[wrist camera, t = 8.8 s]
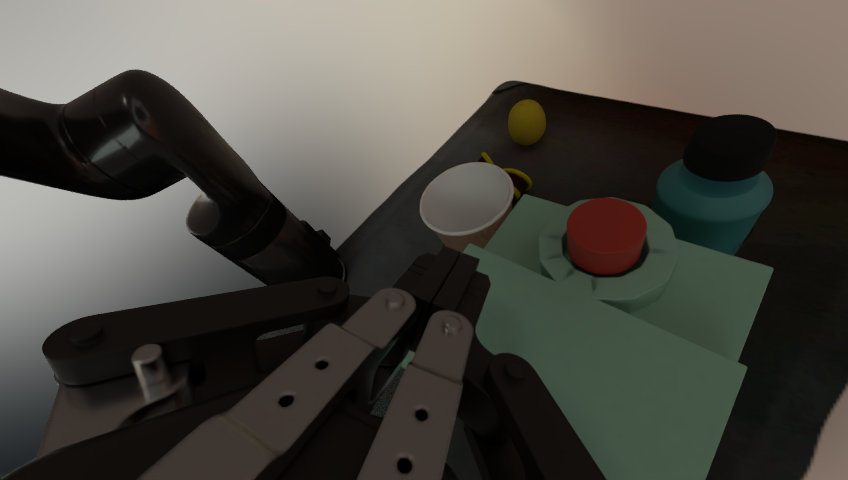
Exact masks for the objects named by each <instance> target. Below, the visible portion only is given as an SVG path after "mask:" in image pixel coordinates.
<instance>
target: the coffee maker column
mask: <svg viewBox="0 0 848 480" xmlns="http://www.w3.org/2000/svg"><path fill="white" fill-rule="evenodd" d="M608 198H614V197H608ZM615 199H618V198H615ZM589 200H593V199H588V200H580V201H578V202H576V203H574V204H572V205H570V206H568V207H567V206H564V205H560V204H557V203H554V202H550V201H547V200H543V199H540V198H537V197H533V196H530V195H527V194H524V195H523V196H522V197H521V199H520V200H519V202H518V203H517V204H516V206H515V207H514V208H513V210H512V211H511V212H510V214H509V215H508V216H507V218H506V219H505V220H504V222H503V223H502V225H501V226H500V227H499V229H498V230H497V231H496V233H495V234H494V235H493V237H492V238H491V239H490V241H489V242H488V243H487V245H486V246H485V248H484V250H487V251H489V252H491V253H493V254H496V255H498V256H500V257H502V258H505V259H507V260H509V261H511V262H514V263H516V264H518V265H520V266H523V267H525V268H527V269H529V270H532V271H534V272H536V273H538V274H541V275H543V276H545V277H547V278H550V279H552V280H554V281H556V282H558V283H560V284H562V285H564V286H566V287H568V288H571V289H573V290H575V291H577V292H580V293H582V294H584V295H586V296H589V297H592V298H594V299H597V300H599V301H601V302H603V303H606V304H608V305H610V306H612V307H615V308H617V309H619V310H621V311H624V312H626V313H628V314H630V315H633V316H635V317H637V318H639V319H642V320H644V321H646V322H648V323H651V324H653V325H655V326H657V327H659V328H662V329H664V330H666V331H668V332H671V333H673V334H675V335H677V336H680V337H682V338H684V339H686V340H689V341H691V342H693V343H695V344H698V345H700V346H702V347H704V348H707V349H709V350H711V351H713V352H716V353H718V354H720V355H722V356H725V357H727V358H729V359H731V360H734V361H736V362H738V359H739V357H740V354H741V352H742V349H743V347H744V344H745V341H746V339H747V336H748V334H749V331H750V329H751V326H752V323H753V321H754V318H755V316H756V313H757V311H758V308H759V305H760V303H761V300H762V298H763V295H764V293H765V290H766V287H767V285H768V282H769V280H770V277H771V275H772V272H773V268H772V267H769V266H766V265H762V264H759V263H756V262H752V261H749V260H745V259H742V258H739V257H735V256H732V255H729V254H725V253H722V252H719V251H715V250H712V249H708V248H705V247H702V246H698V245H695V244H692V243H688V242H685V241H681V240H678V239H675V236H674V233H673V229H672V227H671V225H670V224H668V223H667V222H666V221H665V220H663V219H662V218H661V217H660V216H658V215H657V214H656V213H654V212H653V211H652V210H651V209H649V208H648V207H647V206H645V205H642V204H638V203H634V202H630V201H626V200H623V201H626V202H628V203H630V204H632V205H634V206H635V207H637V208H638V209H639V210H640V211H641V212H642V214H643V215H644V217H645V219H646V222H647V232H646V236H645V239H644V243H643V247H642V250H641V254H640V257H639V259H638V261H637V262H636V263H635V264H634V265H633V266H632V267H631V268H629V269H627V270H626V271H623V272H621V273H617V274H612V275H600V274H594V273H591V272H588V271H586V270H584V269H582V268H580V267H579V266H578V265H576V264H575V263H574V262H573V260H572V259H571V257H570V256H569V253H568V249H567V220H568V217H569V216H570V214H571V213H572V211H573V210H574V209H575V208H576V207H578V206H579V205H581V204H582V203H584V202H587V201H589ZM620 200H622V199H620Z"/></svg>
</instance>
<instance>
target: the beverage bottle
mask: <svg viewBox="0 0 848 480" xmlns="http://www.w3.org/2000/svg"><path fill="white" fill-rule="evenodd" d="M776 142H777V131H776V129H775V128H774V127H773V125H772V124H770V123H769V122H767V121H765V120H763V119H761V118H758V117H754V116H749V115H738V114H737V115H735V114H734V115H723V116H718V117H714V118H711V119H709V120H707V121H705V122H703V123H701V124H700V125H699V126H698V127H697V128H696V129H695V130H694V132H693V134H692V136H691V139H690V141H689V143H688V144H687V146H686V148H685V151H684V154H683V159H681V160H679V161H677V162H675V163H673V164H671V165H670V166H668V167H667V168H666V169H665V170H664V171H663V172H662V173H661V175H660V176H659V178H658V181H657V186H656V193H655V197H654V201H653V205H652V209H651V210H652V211H653V212H654V213H656V214H657V215H658V216H660V217H661V218H662V219H663V220H665V221H666V222H667V223H668V224H670V225H671V227H672V229H673V233H674V236H675V239H678V240H681V241H685V242H688V243H692V244H695V245H698V246H702V247H705V248H708V249H712V250H715V251H719V252H722V253H725V254H729V255H732V256H734V255H735V254H736V253H737V250H739V249H741V248H739V247H743V246H744V245H743V246H742V245H741V244H742V242H743V241H744V239H745V238H746V236H748V233H749V232H750V231H751V230H752V231H753V226H754V224H755V222H756V220H757V219H758V217H759V215H761V212H762V211H763V210H764V209H765V208H766V207H767V205H768V204H769V202H770V201H771V199H772V195H773V185H772V182H771V180H770V178H769V177H768V176H767V174H766V173H765V172H764V171H763V170H764V169H765V167H766V166H767V164H768V162H769V160H770V158H771V155H772V151H773V149H774V147H775V144H776ZM756 227H757V226H756ZM751 233H752V232H750V234H751ZM749 237H750V235H749ZM747 238H748V237H747ZM747 238H746V239H747ZM746 239H745V241H746ZM748 239H749V238H748ZM748 239H747V240H748ZM746 242H747V241H746ZM743 244H745V242H744V243H743ZM740 251H741V250H740ZM738 252H739V251H738ZM736 255H737V254H736Z"/></svg>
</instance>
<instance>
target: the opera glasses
mask: <svg viewBox="0 0 848 480" xmlns="http://www.w3.org/2000/svg"><path fill="white" fill-rule="evenodd" d="M481 155H482V157H481V158H480V159H479V161H478V162H484V163H490V164H493V162H492V161H491V159H490V158H489V156H488V155H487V154H486V153H485V152H482V154H481ZM493 165H494V164H493ZM503 170H504V171H505V172H506V173H507V174H508V175H509V176H510V178H511V180H512V182H513V186H514V194H513V199H512V203H514V201H516V200H517V199H518V198H519V197H520V194H521V193H523V192H524V191H527V190H529V189H530V188H531V186H532V181H531V179H530V178H529V177H528V176H527V175H526V174H524V173H523V172H521V171H519V170H516V169H512V168H504V169H503ZM509 188H510V187H509Z"/></svg>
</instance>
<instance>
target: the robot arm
mask: <svg viewBox="0 0 848 480" xmlns="http://www.w3.org/2000/svg"><path fill="white" fill-rule="evenodd" d="M0 176H3V177H8V178H12V179H17V180H22V181H26V182H31V183H35V184H40V185H44V186H49V187H53V188H58V189H62V190H67V191H71V192H76V193H80V194H85V195H90V196H95V197H100V198H107V199H115V200H136V199H141V198H145V197H148V196H151V195H153V194H155V193H157V192H160V191H162V190H163V189H165V188H167V187H169V186H171V185H173V184H175V183H176V182H178V181H180V180H182V179H184V178H186V177H188V178H189V179H190V180H192V181H193V182H194V183H195V184H196V185H197V186H198V187H199V188H200V189H201V190H202V191H201V193H200V194H199V195H198V197H197V198H196V199H195V201H194V202H193V204H192V206H191V207H190V209H189V212H188V215H187V218H186V225H187V228H188V230H189V232H190V233H191V234H192V235H194V236H195V237H196V238H197V239H199V240H200V241H202V242H203V243H205V244H207V245H208V246H209V247H211V248H212V249H214V250H215V251H217V252H218V253H220V254H221V255H223V256H224V257H226V258H227V259H229V260H230V261H232V262H233V263H235V264H236V265H238V266H239V267H241V268H242V269H244V270H245V271H247V272H248V273H250V274H251V275H253V276H254V277H256V278H257V279H259V280H260V281H262V282H263V283H264V284H266V285H267V286H264V287H258V288H252V289H246V290H240V291H235V292H229V293H223V294H217V295H211V296H205V297H199V298H193V299H187V300H181V301H175V302H169V303H163V304H157V305H151V306H145V307H139V308H134V309H127V310H121V311H115V312H109V313H104V314H98V315H92V316H87V317H83V318H80V319H77V320H74V321H72V322H70V323H67V324H65V325H63V326H62V327H60V328H59V329H57V330H55V331H54V332H53V333H52V334H50V336H49V337H48V338H47V339H46V340H45V342H44V344H43V346H42V350H43V353H44V355H45V357H46V359H47V361H48V363H49V364H50V366H51V368H52V370H53V372H54V377H55V380H56V382H57V384H58V385H59V390H58V393H57V396H56V399H55V402H54V405H53V408H52V411H51V414H50V417H49V420H48V423H47V426H46V429H45V432H44V435H43V438H42V441H41V444H40V447H39V450H38V454H37V456H36V459H33V460H31V461H29V462H28V463H26V464H24V465H22V466H20V467H18V468H17V469H15V470H13V471H12V472H10V473H9V474H7V475H5V476H4V477H2V478H1V479H0V480H458V478H457V476H456V475H455V473H454V472H453V471H452V469H451V468H450V467H449V465H448V464H447V463H446V458H447V453H448V449H449V445H450V440H451V436H452V432H453V427H454V423H455V419H456V415H457V416H458V417H459V418H460V419H461V420H462V421H463V422H464V431H465V434H466V437H467V440H468V442H469V445H470V448H471V450H472V453H473V455H474V458H475V461H476V463H477V466H478V469H479V471H480V474H481V476H482V479H483V480H607V479H606V478H605V476H604V475H603V473H602V472H601V470H600V469H599V467H598V466H597V464H596V463H595V461H594V460H593V458H592V456H591V455H590V453H589V452H588V450H587V449H586V447H585V446H584V444H583V443H582V441H581V440H580V438H579V437H578V435H577V434H576V432H575V430H574V429H573V427H572V426H571V424H570V423H569V421H568V420H567V418H566V417H565V415H564V414H563V412H562V411H561V409H560V408H559V406H558V404H557V403H556V401H555V400H554V398H553V397H552V395H551V394H550V392H549V391H548V389H547V388H546V386H545V385H544V383H543V382H542V380H541V378H540V377H539V375H538V374H537V372H536V371H535V369H534V368H533V367H532V366H531V365H530V364H529V363H528V362H527V361H526V360H525V359H523V358H521V357H519V356H517V355H515V354H511V353H499V354H496V355H494V354H492V353H491V352H490V351H488V350H487V349H486V348H485V347H484V346H483V345H482V344H481V343H480V341H479V340H478V338H477V335H476V325H477V322H478V319H479V316H480V313H481V311H482V308H483V305H484V302H485V300H486V297H487V294H488V291H489V289H490V286H491V283H490V280H489V276H488V275H486V274H483V273H480V272H478V271H476V270H477V267H478V264H479V261H480V259H479V258H476V257H473V256H471V255H468V254H465V253H462V254H461V252H460V251H457V250H454V249H451V248H449V247H446V246H444V247H443V248H442V249H441V251H440V252H439V253H438V255H437V256H435V255H433V254H430V253H426V254H423V255H421V256H419V257H417V259H416V260H415V261H414V262H413V264H412V265H411V266H410V267H409V268H408V270H407V271H406V272H405V273H404V274H403V275H402V277H401V278H400V279H399V280H398V281H397V283H396V284H395V285H394V286H393V287H392V288H386V289H382V290H380V291H378V292H377V293H376V294H375V295H374V296H373V297H363V296H357V295H351V294H349V287H348V285H347V284H346V283H345V282H346V278H347V270H346V267H345V265H344V263H343V262H342V261H341V260H340V255H339V254H338V253H337V252H336V251H335V250H334V249H333V248H332V247H331V246H330V240H331V238H330V237H329V236H328V235H327V234H326V233H325V232H324V231H323V230H319V231H315V230H314V229H313V228H312V227H311V226H310V225H309V224H308V223H307V222H306V221H303V220H302V221H299V220H298V219H297V218H296V217H295V216H294V215H293V214H292V213H291V212H290V211H289V210H288V209H287V208H286V207H285V206H284V205H283V204H282V203H281V202H280V201H279V200H278V199H277V198H276V197H275V196H274V195H273V194H272V193H271V192H270V191H269V190H268V189H267V188H266V187H265V186H264V185H263V184H262V183H261V182H260V181H259V180H258V178H257V177H256V176H255V174H254V173H253V172H252V170H251V169H250V168H249V166H248V165H247V164H246V163H245V162H244V160H243V159H242V158H241V157H240V156H239V155H238V154H237V153H236V152H235V151H234V150H233V149H232V148H231V147H230V146H229V145H228V143H227V142H226V141H225V140H224V139H223V138H222V137H221V136H220V135H219V133H218V132H217V131H216V130H215V129H214V128H213V127H212V126H211V124H210V123H209V122H208V121H207V120H206V119H205V118H204V117H203V115H202V114H201V113H200V112H199V111H198V110H197V109H196V108H195V107H194V106H193V105H192V104H191V103H190V102H189V101H188V100H187V99H186V98H185V97H184V96H183V95H182V94H181V93H180V92H179V91H178V90H176V89H175V88H174V87H173V86H171V85H170V84H169V83H167V82H166V81H164V80H163V79H161V78H159V77H158V76H156V75H154V74H151V73H149V72H147V71H142V70H129V71H125V72H123V73H121V74H119V75H117V76H115V77H113V78H111V79H109V80H108V81H106V82H104V83H102V84H101V85H99V86H97V87H95V88H94V89H92V90H90V91H88V92H87V93H85V94H83V95H82V96H80V97H78V98H77V99H74V100H73V101H71V102H69V103H67V104H51V103H46V102H42V101H38V100H34V99H30V98H27V97H24V96H21V95H18V94H14V93H12V92H9V91H6V90H3V89H1V88H0ZM301 324H304V328H303V330H301V331H297V332H293V333H289V334H285V335H280V336H276V337H272V338H268V339H264V340H256V339H257V338H258V337H259V336H261V335H262V334H264V333H267V332H271V331H276V330H280V329H284V328H288V327H293V326H297V325H301ZM409 350H410V351H412V352H415V354H414V357H413V359H412V361H411V362H409V363H408V365H407V367H406V369H405V371H404V373H403V376H402V378H401V380H400V382H399V385H398V387H397V389H396V391H395V394H394V396H393V398H392V400H391V403H390V405H389V407H388V409H387V412H386V414H385V416H384V418H383V417H379V416H374V415H370V412H371V410H372V409H373V407H374V406H375V404H376V403H377V402H378V400H379V399H380V397H381V396H382V394H383V393H384V391H385V390H386V389H387V387H388V386H389V384H390V383H391V381H392V380H393V378H394V377H395V376H396V374H397V373H398V371H399V370H400V368H401V366H402V363H403V360H404V359H405V357H406V355H407V354H408V352H409Z"/></svg>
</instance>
